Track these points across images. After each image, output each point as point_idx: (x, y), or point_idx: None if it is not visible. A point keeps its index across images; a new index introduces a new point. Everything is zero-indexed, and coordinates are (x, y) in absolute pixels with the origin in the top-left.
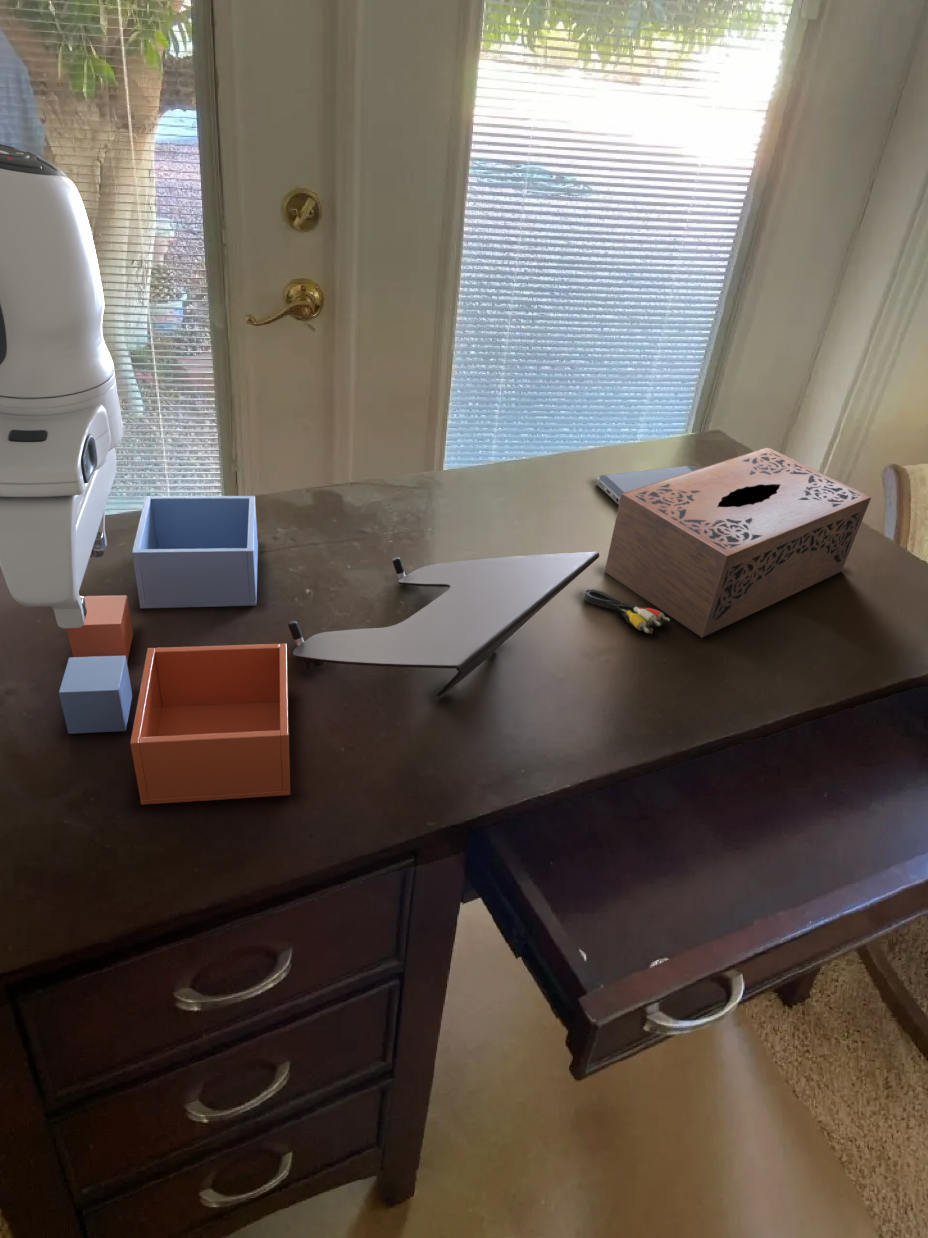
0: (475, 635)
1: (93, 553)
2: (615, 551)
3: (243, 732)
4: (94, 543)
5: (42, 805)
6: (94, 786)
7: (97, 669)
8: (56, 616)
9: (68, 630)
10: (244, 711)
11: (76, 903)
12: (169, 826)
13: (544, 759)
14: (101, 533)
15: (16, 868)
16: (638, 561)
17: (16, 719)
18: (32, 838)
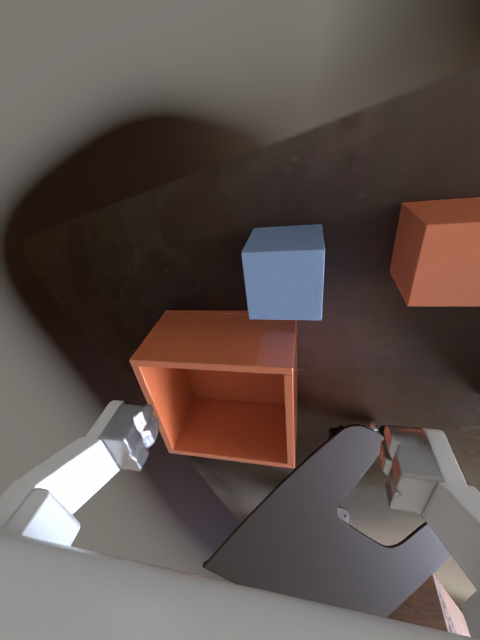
0: (253, 575)
1: (386, 446)
2: (432, 599)
3: (164, 431)
4: (389, 481)
5: (149, 226)
6: (181, 269)
7: (292, 291)
8: (99, 419)
9: (422, 223)
10: (279, 381)
11: (67, 277)
12: (150, 330)
13: (236, 496)
14: (418, 511)
15: (78, 223)
16: (408, 603)
17: (283, 149)
18: (111, 228)
